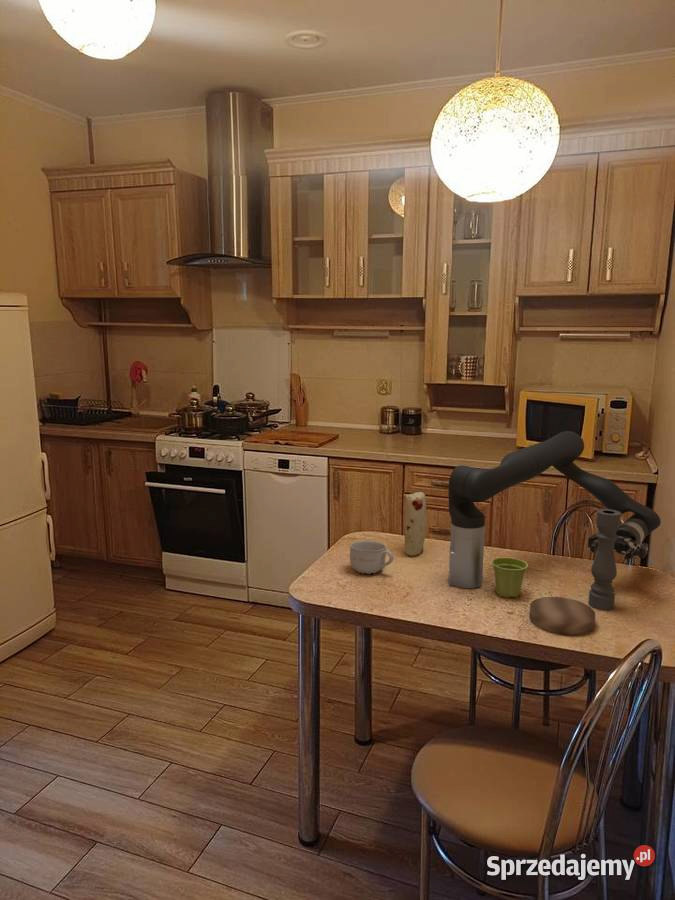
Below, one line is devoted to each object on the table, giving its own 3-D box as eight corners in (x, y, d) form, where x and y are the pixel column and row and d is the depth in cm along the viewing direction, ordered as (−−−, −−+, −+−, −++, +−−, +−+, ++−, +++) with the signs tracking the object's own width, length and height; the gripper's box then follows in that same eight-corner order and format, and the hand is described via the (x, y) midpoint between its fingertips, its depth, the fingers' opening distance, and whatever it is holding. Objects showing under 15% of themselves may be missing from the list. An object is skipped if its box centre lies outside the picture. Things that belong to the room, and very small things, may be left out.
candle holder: (616, 611, 158) (625, 516, 153) (590, 609, 159) (598, 514, 154) (611, 601, 164) (619, 509, 159) (586, 599, 165) (593, 508, 160)
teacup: (342, 570, 185) (342, 544, 184) (367, 561, 193) (368, 536, 191) (375, 583, 175) (376, 556, 174) (401, 573, 182) (402, 547, 181)
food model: (419, 559, 194) (421, 497, 190) (399, 556, 197) (400, 494, 193) (428, 550, 203) (430, 490, 199) (409, 547, 205) (410, 488, 202)
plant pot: (498, 584, 175) (500, 554, 174) (531, 592, 169) (533, 562, 168) (484, 594, 168) (485, 564, 166) (518, 603, 162) (519, 572, 161)
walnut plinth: (534, 633, 146) (535, 621, 146) (525, 606, 161) (525, 595, 160) (601, 637, 144) (602, 625, 144) (586, 609, 159) (587, 598, 158)
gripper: (601, 519, 179) (583, 533, 166) (655, 529, 170) (640, 544, 158) (599, 544, 180) (581, 560, 168) (653, 555, 171) (638, 572, 159)
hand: (610, 552), depth 163 cm, fingers open, 8 cm apart
